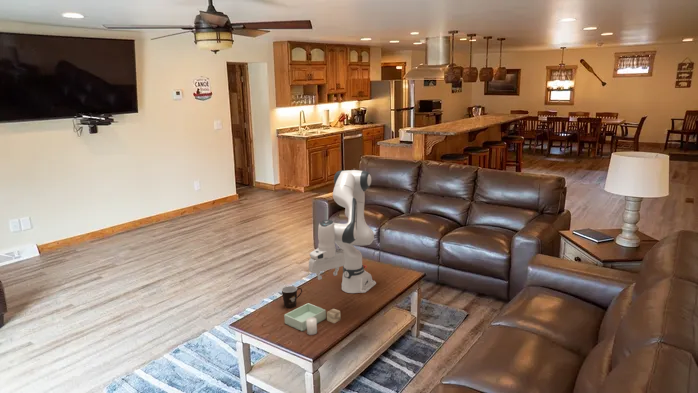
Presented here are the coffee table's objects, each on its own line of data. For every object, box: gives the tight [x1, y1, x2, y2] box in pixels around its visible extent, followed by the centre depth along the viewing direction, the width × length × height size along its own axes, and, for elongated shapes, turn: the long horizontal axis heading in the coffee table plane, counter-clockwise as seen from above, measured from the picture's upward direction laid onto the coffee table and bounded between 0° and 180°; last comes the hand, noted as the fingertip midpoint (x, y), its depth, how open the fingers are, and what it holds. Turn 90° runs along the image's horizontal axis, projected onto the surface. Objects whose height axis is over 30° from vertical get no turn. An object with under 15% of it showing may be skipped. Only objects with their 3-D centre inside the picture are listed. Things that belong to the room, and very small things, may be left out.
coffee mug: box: [281, 285, 303, 309], centre depth 267 cm, size 12×9×10 cm
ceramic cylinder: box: [306, 317, 318, 336], centre depth 238 cm, size 5×5×7 cm
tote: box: [283, 302, 327, 332], centre depth 249 cm, size 17×13×5 cm
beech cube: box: [326, 308, 341, 324], centre depth 250 cm, size 5×5×5 cm
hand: (327, 277), depth 248 cm, fingers open, 8 cm apart
